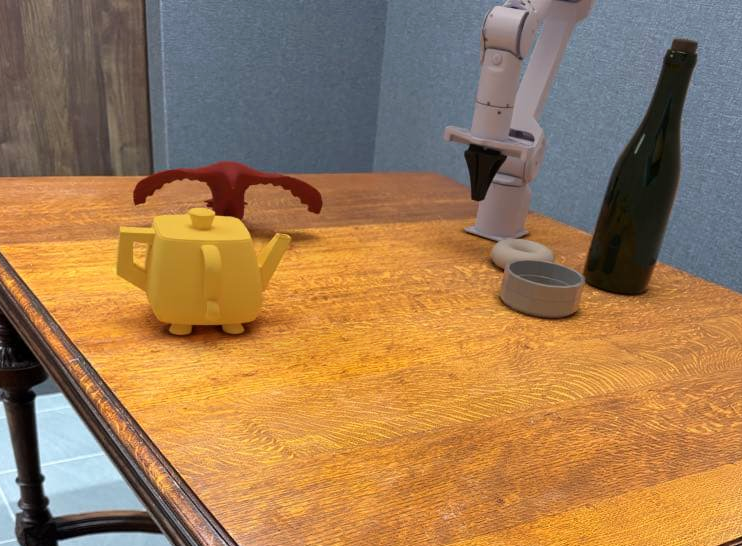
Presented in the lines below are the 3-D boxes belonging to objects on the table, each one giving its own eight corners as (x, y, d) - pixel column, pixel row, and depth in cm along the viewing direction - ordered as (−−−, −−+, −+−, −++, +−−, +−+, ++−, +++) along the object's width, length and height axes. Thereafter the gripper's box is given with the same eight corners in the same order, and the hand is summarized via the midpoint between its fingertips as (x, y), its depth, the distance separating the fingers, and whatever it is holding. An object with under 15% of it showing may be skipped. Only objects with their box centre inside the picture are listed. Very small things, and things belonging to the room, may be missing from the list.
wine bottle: (568, 278, 126) (632, 31, 107) (602, 267, 133) (669, 33, 113) (626, 300, 121) (705, 45, 101) (659, 288, 128) (739, 46, 108)
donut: (552, 283, 124) (551, 262, 132) (557, 261, 122) (556, 241, 130) (487, 272, 125) (490, 252, 133) (492, 250, 123) (495, 231, 130)
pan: (521, 283, 122) (527, 253, 119) (589, 306, 117) (597, 276, 115) (484, 301, 114) (491, 269, 111) (556, 326, 110) (564, 293, 107)
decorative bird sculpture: (136, 250, 127) (132, 195, 112) (133, 196, 128) (129, 135, 114) (313, 257, 134) (331, 206, 120) (309, 205, 135) (325, 149, 121)
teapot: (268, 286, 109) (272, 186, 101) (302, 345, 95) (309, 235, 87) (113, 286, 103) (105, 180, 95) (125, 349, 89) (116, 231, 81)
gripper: (439, 95, 120) (425, 191, 128) (526, 116, 114) (505, 215, 122) (463, 93, 125) (448, 185, 133) (547, 112, 119) (526, 208, 127)
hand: (477, 199), depth 128 cm, fingers closed
